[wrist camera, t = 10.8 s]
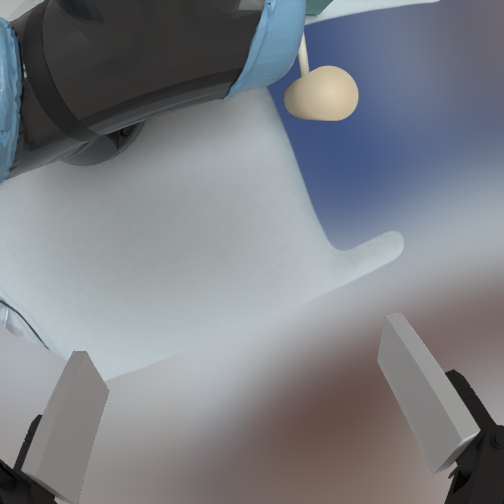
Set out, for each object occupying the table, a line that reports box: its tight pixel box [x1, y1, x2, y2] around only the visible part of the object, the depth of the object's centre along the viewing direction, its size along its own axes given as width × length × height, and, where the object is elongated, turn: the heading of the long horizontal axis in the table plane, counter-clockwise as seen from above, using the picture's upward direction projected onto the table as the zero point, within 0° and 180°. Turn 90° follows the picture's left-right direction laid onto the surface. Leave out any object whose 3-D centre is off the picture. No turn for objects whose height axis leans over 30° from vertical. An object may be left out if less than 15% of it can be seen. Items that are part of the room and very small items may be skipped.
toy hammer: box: [283, 0, 358, 121], centre depth 24 cm, size 6×20×10 cm, turn 7°
